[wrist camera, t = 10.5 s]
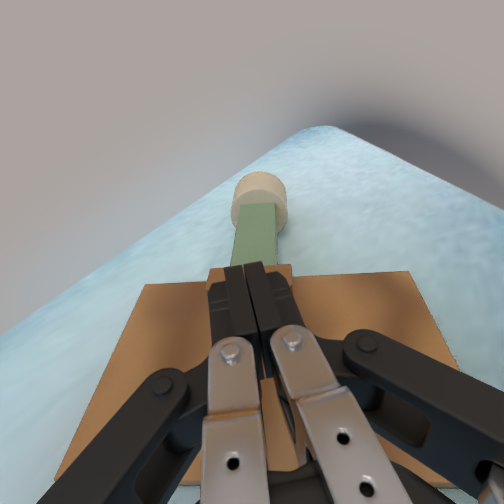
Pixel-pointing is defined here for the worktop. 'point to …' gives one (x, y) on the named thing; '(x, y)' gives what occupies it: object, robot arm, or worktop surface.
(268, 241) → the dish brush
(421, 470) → the brown flat board
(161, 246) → the worktop surface
